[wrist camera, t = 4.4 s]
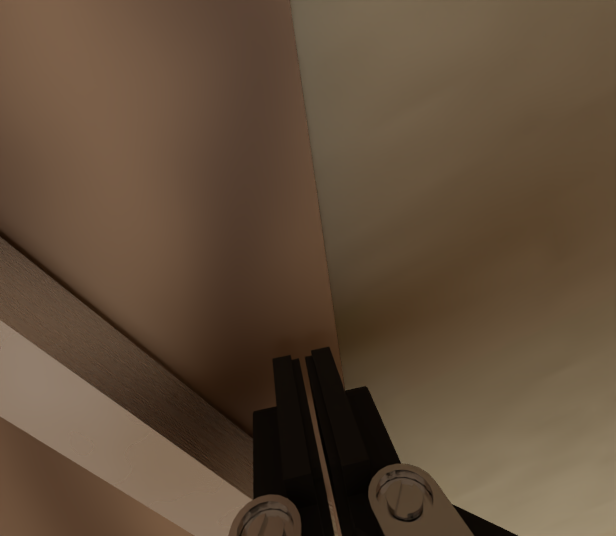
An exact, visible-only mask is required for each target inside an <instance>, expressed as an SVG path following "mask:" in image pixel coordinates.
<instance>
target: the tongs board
mask: <svg viewBox="0 0 616 536" xmlns="http://www.w3.org/2000/svg"><path fill="white" fill-rule="evenodd" d="M0 237H1V238H2V239H4V240H5V241H6V242H7V243H9V244H10V245H11V246H12V247H14V248H15V249H16V250H17V251H19V252H20V253H21V254H22V255H24V256H25V257H26V258H27V259H29V260H30V261H31V262H32V263H34V264H35V265H36V266H37V267H39V268H40V269H41V270H42V271H44V272H45V273H46V274H47V275H49V276H50V277H51V278H52V279H54V280H55V281H56V282H57V283H59V284H60V285H61V286H62V287H64V288H65V289H66V290H67V291H69V292H70V293H71V294H72V295H74V296H75V297H76V298H77V299H79V300H80V301H81V302H82V303H84V304H85V305H86V306H87V307H89V308H90V309H91V310H92V311H94V312H95V313H96V314H97V315H99V316H100V317H101V318H102V319H104V320H105V321H106V322H107V323H109V324H110V325H111V326H112V327H114V328H115V329H116V330H117V331H119V332H120V333H121V334H122V335H124V336H125V337H126V338H127V339H129V340H130V341H131V342H132V343H134V344H135V345H136V346H137V347H139V348H140V349H141V350H142V351H144V352H145V353H146V354H147V355H149V356H150V357H151V358H152V359H154V360H155V361H156V362H157V363H159V364H160V365H161V366H162V367H164V368H165V369H166V370H167V371H169V372H170V373H171V374H172V375H174V376H175V377H176V378H177V379H179V380H180V381H181V382H182V383H184V384H185V385H186V386H187V387H189V388H190V389H191V390H192V391H194V392H195V393H196V394H197V395H199V396H200V397H201V398H202V399H204V400H205V401H206V402H207V403H209V404H210V405H211V406H212V407H214V408H215V409H216V410H217V411H219V412H220V413H221V414H222V415H224V416H225V417H226V418H227V419H229V420H230V421H231V422H232V423H234V424H235V425H236V426H237V427H239V428H240V429H241V430H242V431H244V432H245V433H246V434H247V435H249V436H250V437H251V438H252V439H253V411H257V410H262V409H266V408H271V407H275V406H276V395H275V384H274V373H273V362H272V359H273V358H278V357H282V356H287V355H291V358H292V360H293V359H297V358H299V361H300V366H301V371H302V376H303V380H304V385H305V390H306V395H307V400H308V405H309V409H310V414H311V419H312V424H313V429H314V434H315V439H316V443H317V448H318V453H319V458H320V463H321V468H322V473H323V478H324V483H325V488H326V493H327V498H328V499H329V500H330V501H331V503H332V508H333V513H334V518H335V523H336V528H337V533H338V536H342V534H341V530H340V525H339V521H338V516H337V512H336V507H335V503H334V498H333V494H332V489H331V485H330V480H329V476H328V471H327V466H326V462H325V457H324V453H323V448H322V444H321V439H320V435H319V430H318V424H317V419H316V414H315V409H314V403H313V398H312V393H311V387H310V382H309V377H308V372H307V366H306V361H305V357H306V356H311V355H312V354H311V350H315V349H320V348H324V347H330V350H331V353H332V355H333V358H334V361H335V364H336V367H337V370H338V372H339V375H340V378H341V381H342V384H343V387H344V380H343V373H342V366H341V359H340V352H339V345H338V338H337V331H336V324H335V317H334V310H333V303H332V296H331V289H330V281H329V274H328V267H327V260H326V253H325V246H324V239H323V232H322V225H321V218H320V211H319V204H318V197H317V190H316V183H315V176H314V169H313V162H312V155H311V148H310V141H309V134H308V127H307V120H306V113H305V106H304V99H303V92H302V84H301V77H300V70H299V63H298V56H297V49H296V42H295V35H294V28H293V21H292V14H291V7H290V0H0ZM344 389H345V387H344ZM0 536H194V535H193V534H191V533H189V532H188V531H186V530H184V529H183V528H181V527H180V526H178V525H176V524H175V523H173V522H171V521H170V520H168V519H167V518H165V517H163V516H162V515H160V514H158V513H157V512H155V511H153V510H152V509H150V508H149V507H147V506H145V505H144V504H142V503H140V502H139V501H137V500H136V499H134V498H132V497H131V496H129V495H127V494H126V493H124V492H123V491H121V490H119V489H118V488H116V487H114V486H113V485H111V484H109V483H108V482H106V481H105V480H103V479H101V478H100V477H98V476H96V475H95V474H93V473H92V472H90V471H88V470H87V469H85V468H83V467H82V466H80V465H79V464H77V463H75V462H74V461H72V460H70V459H69V458H67V457H65V456H64V455H62V454H61V453H59V452H57V451H56V450H54V449H52V448H51V447H49V446H48V445H46V444H44V443H43V442H41V441H39V440H38V439H36V438H35V437H33V436H31V435H30V434H28V433H26V432H25V431H23V430H21V429H20V428H18V427H17V426H15V425H13V424H12V423H10V422H8V421H7V420H5V419H4V418H2V417H0Z"/></svg>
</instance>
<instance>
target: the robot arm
mask: <svg viewBox="0 0 616 536" xmlns="http://www.w3.org/2000/svg"><path fill="white" fill-rule="evenodd" d="M311 354H312V355H311V356H306V357H305V361H306V366H307V372H308V377H309V382H310V387H311V393H312V398H313V403H314V409H315V414H316V419H317V424H318V430H319V435H320V439H321V444H322V448H323V453H324V457H325V462H326V466H327V471H328V476H329V480H330V485H331V489H332V494H333V498H334V503H335V507H336V512H337V516H338V521H339V525H340V530H341V534H342V536H518V535H516V534H513V533H511V532H509V531H507V530H505V529H503V528H501V527H499V526H497V525H495V524H493V523H490V522H488V521H486V520H484V519H482V518H480V517H478V516H476V515H474V514H472V513H470V512H467V511H465V510H463V509H461V508H459V507H457V506H455V505H453V504H451V502H450V501H449V500H448V498H447V497H446V495H445V494H444V493H443V491H442V490H441V488H440V487H439V485H438V484H437V483H436V481H435V480H434V479H433V478H432V477H431V476H430V475H429V474H428V473H427V472H425V471H424V470H422V469H420V468H419V467H416V466H413V465H410V464H401V462H400V460H399V458H398V455H397V453H396V451H395V449H394V446H393V444H392V442H391V440H390V437H389V435H388V433H387V431H386V428H385V426H384V424H383V422H382V419H381V417H380V415H379V412H378V410H377V408H376V406H375V403H374V401H373V399H372V397H371V394H370V392H369V390H368V388H367V387H366V386H364V387H360V388H355V389H351V390H346V391H345V389H344V387H343V384H342V381H341V378H340V375H339V372H338V370H337V367H336V364H335V361H334V358H333V355H332V353H331V350H330V347H324V348H320V349H315V350H311ZM272 362H273V373H274V384H275V395H276V406H275V407H271V408H266V409H262V410H257V411H253V500H252V501H250V502H248V503H247V504H246V505H245V506H244V507H243V508H242V509H241V510H240V511H239V512H238V514H237V515H236V517H235V518H234V520H233V522H232V525H231V528H230V531H229V535H228V536H335V534H334V529H333V524H332V519H331V514H330V509H329V504H328V498H327V493H326V488H325V483H324V478H323V473H322V468H321V463H320V458H319V453H318V448H317V443H316V439H315V434H314V429H313V424H312V419H311V414H310V409H309V405H308V400H307V395H306V390H305V385H304V380H303V376H302V371H301V366H300V361H299V358H297V359H293V360H292V358H291V355H287V356H282V357H278V358H273V359H272Z"/></svg>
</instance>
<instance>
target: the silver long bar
mask: <svg viewBox="0 0 616 536" xmlns="http://www.w3.org/2000/svg"><path fill="white" fill-rule="evenodd" d="M0 417H2V418H4V419H5V420H7V421H8V422H10V423H12V424H13V425H15V426H17V427H18V428H20V429H21V430H23V431H25V432H26V433H28V434H30V435H31V436H33V437H35V438H36V439H38V440H39V441H41V442H43V443H44V444H46V445H48V446H49V447H51V448H52V449H54V450H56V451H57V452H59V453H61V454H62V455H64V456H65V457H67V458H69V459H70V460H72V461H74V462H75V463H77V464H79V465H80V466H82V467H83V468H85V469H87V470H88V471H90V472H92V473H93V474H95V475H96V476H98V477H100V478H101V479H103V480H105V481H106V482H108V483H109V484H111V485H113V486H114V487H116V488H118V489H119V490H121V491H123V492H124V493H126V494H127V495H129V496H131V497H132V498H134V499H136V500H137V501H139V502H140V503H142V504H144V505H145V506H147V507H149V508H150V509H152V510H153V511H155V512H157V513H158V514H160V515H162V516H163V517H165V518H167V519H168V520H170V521H171V522H173V523H175V524H176V525H178V526H180V527H181V528H183V529H184V530H186V531H188V532H189V533H191V534H193V535H194V536H228V535H229V531H230V528H231V525H232V522H233V520H234V518H235V517H236V515H237V514H238V512H239V511H240V510H241V509H242V508H243V507H244V506H245V505H246V504H247V503H248V502H250V501H252V500H253V439H252V438H251V437H250V436H249V435H247V434H246V433H245V432H244V431H242V430H241V429H240V428H239V427H237V426H236V425H235V424H234V423H232V422H231V421H230V420H229V419H227V418H226V417H225V416H224V415H222V414H221V413H220V412H219V411H217V410H216V409H215V408H214V407H212V406H211V405H210V404H209V403H207V402H206V401H205V400H204V399H202V398H201V397H200V396H199V395H197V394H196V393H195V392H194V391H192V390H191V389H190V388H189V387H187V386H186V385H185V384H184V383H182V382H181V381H180V380H179V379H177V378H176V377H175V376H174V375H172V374H171V373H170V372H169V371H167V370H166V369H165V368H164V367H162V366H161V365H160V364H159V363H157V362H156V361H155V360H154V359H152V358H151V357H150V356H149V355H147V354H146V353H145V352H144V351H142V350H141V349H140V348H139V347H137V346H136V345H135V344H134V343H132V342H131V341H130V340H129V339H127V338H126V337H125V336H124V335H122V334H121V333H120V332H119V331H117V330H116V329H115V328H114V327H112V326H111V325H110V324H109V323H107V322H106V321H105V320H104V319H102V318H101V317H100V316H99V315H97V314H96V313H95V312H94V311H92V310H91V309H90V308H89V307H87V306H86V305H85V304H84V303H82V302H81V301H80V300H79V299H77V298H76V297H75V296H74V295H72V294H71V293H70V292H69V291H67V290H66V289H65V288H64V287H62V286H61V285H60V284H59V283H57V282H56V281H55V280H54V279H52V278H51V277H50V276H49V275H47V274H46V273H45V272H44V271H42V270H41V269H40V268H39V267H37V266H36V265H35V264H34V263H32V262H31V261H30V260H29V259H27V258H26V257H25V256H24V255H22V254H21V253H20V252H19V251H17V250H16V249H15V248H14V247H12V246H11V245H10V244H9V243H7V242H6V241H5V240H4V239H2V238H1V237H0ZM328 504H329V509H330V514H331V519H332V524H333V529H334V534H335V536H338V533H337V528H336V523H335V518H334V513H333V508H332V503H331V501H330V500H329V499H328Z"/></svg>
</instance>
